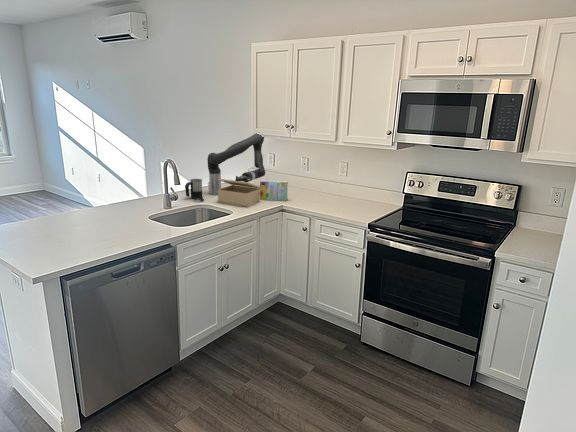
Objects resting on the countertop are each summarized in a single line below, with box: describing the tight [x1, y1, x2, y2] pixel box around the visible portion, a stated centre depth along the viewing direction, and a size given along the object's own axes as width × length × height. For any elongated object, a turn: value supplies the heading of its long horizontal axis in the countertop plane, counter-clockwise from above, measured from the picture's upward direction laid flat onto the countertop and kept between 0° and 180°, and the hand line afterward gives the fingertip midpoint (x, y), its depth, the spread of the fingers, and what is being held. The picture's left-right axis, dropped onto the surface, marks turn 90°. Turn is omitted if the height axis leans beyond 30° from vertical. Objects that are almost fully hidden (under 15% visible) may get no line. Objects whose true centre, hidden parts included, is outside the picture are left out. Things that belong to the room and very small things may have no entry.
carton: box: [217, 184, 260, 208], centre depth 296 cm, size 25×19×10 cm
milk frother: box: [184, 178, 205, 202], centre depth 300 cm, size 14×16×15 cm
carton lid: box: [218, 178, 260, 189], centre depth 294 cm, size 26×20×1 cm
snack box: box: [259, 179, 289, 202], centre depth 305 cm, size 21×6×15 cm, turn 84°
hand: (236, 180), depth 289 cm, fingers closed
